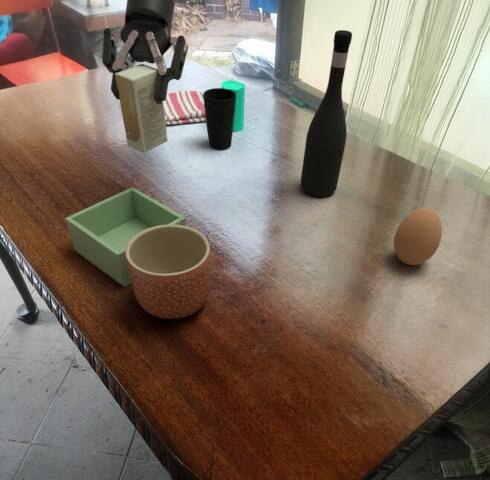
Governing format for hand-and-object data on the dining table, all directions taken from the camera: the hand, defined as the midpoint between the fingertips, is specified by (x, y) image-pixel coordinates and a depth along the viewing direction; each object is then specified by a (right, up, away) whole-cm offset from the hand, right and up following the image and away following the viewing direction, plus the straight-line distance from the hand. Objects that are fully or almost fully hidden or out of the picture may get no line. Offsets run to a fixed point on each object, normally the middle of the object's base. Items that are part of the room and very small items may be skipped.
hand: (137, 99), depth 75 cm
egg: (+48, -26, +9) cm, 55 cm away
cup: (+11, +8, +38) cm, 41 cm away
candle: (+14, +16, +46) cm, 51 cm away
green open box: (-3, -23, +8) cm, 25 cm away
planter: (+6, -34, -1) cm, 34 cm away
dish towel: (-3, +22, +51) cm, 55 cm away
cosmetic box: (0, -5, +7) cm, 9 cm away
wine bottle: (+34, -7, +25) cm, 43 cm away
